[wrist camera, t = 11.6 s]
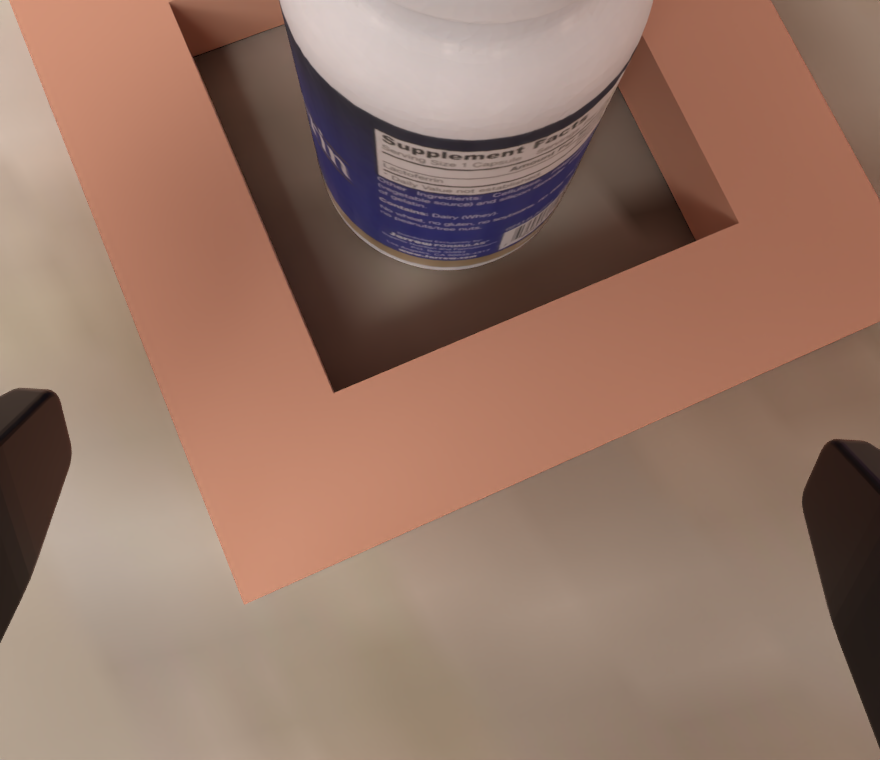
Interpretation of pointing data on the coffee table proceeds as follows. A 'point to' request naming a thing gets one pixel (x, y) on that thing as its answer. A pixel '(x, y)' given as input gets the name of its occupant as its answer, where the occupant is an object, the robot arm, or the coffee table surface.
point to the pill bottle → (455, 113)
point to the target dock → (484, 353)
